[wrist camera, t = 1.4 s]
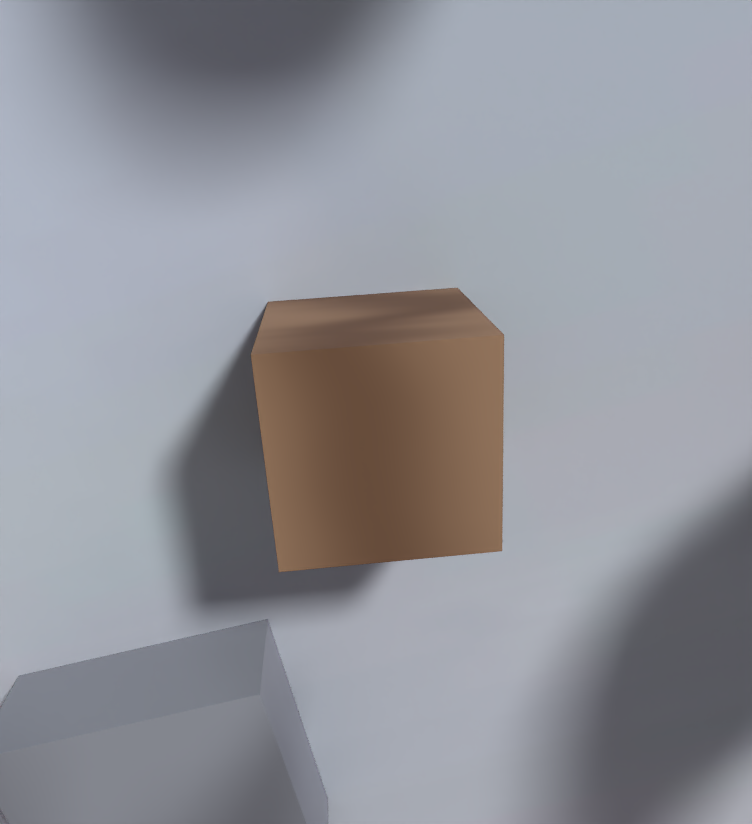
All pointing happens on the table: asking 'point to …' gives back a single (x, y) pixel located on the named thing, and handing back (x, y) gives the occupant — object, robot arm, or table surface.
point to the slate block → (161, 738)
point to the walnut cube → (381, 427)
